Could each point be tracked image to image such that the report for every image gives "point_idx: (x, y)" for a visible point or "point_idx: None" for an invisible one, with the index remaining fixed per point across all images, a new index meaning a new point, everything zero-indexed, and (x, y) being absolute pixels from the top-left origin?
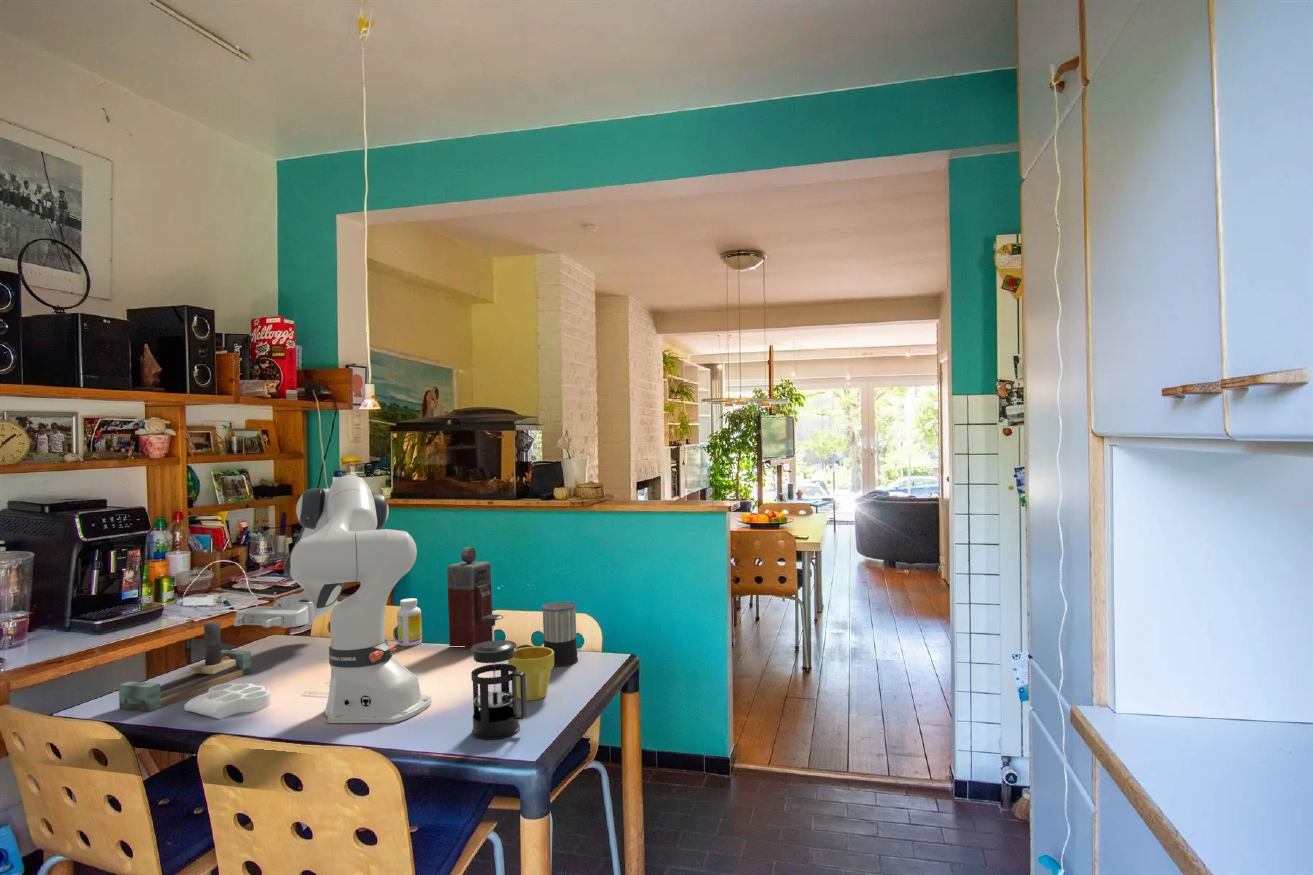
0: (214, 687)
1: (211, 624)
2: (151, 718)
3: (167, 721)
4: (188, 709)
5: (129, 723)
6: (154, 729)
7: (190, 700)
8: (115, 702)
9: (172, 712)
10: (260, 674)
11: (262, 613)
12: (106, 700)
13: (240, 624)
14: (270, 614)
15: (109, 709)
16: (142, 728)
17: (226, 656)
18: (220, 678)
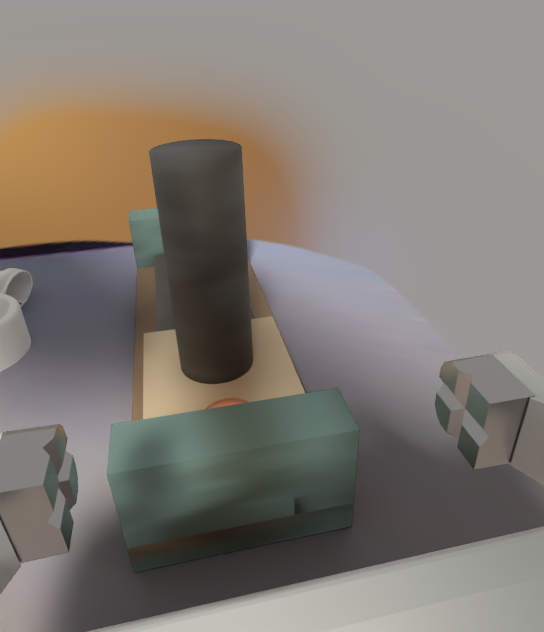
0: (8, 310)
1: (178, 146)
2: (94, 263)
3: (33, 266)
4: (13, 281)
5: (120, 247)
6: (26, 250)
7: (13, 268)
8: (313, 269)
9: (72, 283)
10: (32, 571)
11: (371, 566)
12: (356, 268)
13: (458, 431)
14: (138, 621)
15: (267, 255)
16: (61, 246)
17: (225, 405)
18: (133, 394)
